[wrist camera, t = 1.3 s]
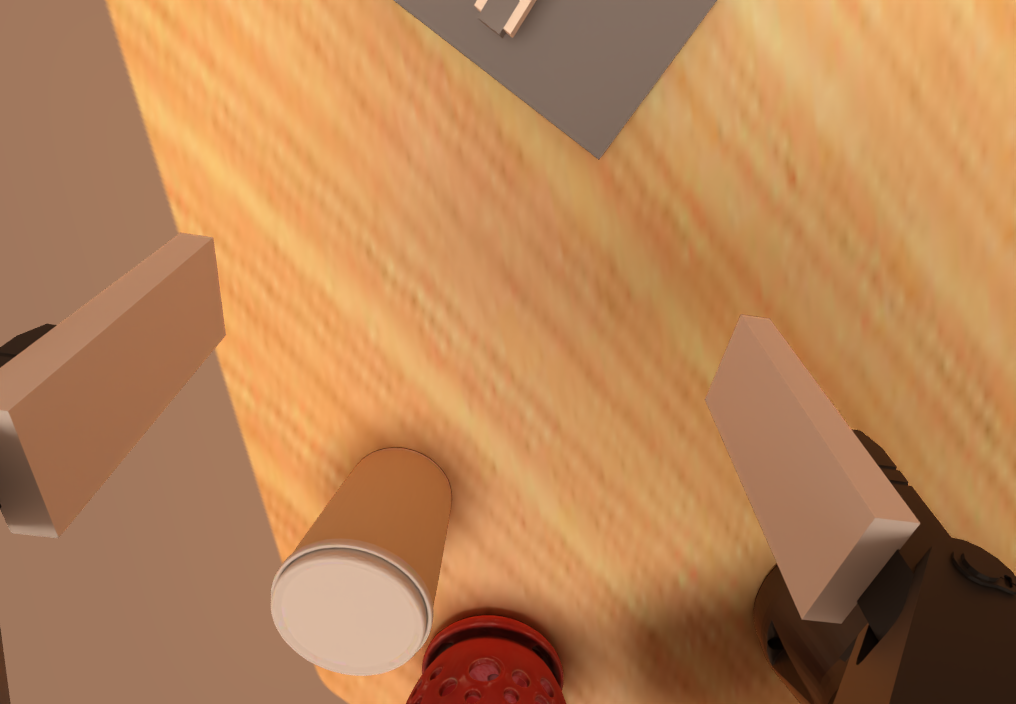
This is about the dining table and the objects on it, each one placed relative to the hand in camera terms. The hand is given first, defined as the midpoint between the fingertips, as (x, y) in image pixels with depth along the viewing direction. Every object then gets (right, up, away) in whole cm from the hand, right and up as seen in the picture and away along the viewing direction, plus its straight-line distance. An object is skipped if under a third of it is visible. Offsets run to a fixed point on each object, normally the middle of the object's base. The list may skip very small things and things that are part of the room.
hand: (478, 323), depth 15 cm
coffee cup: (-7, -11, +29) cm, 32 cm away
